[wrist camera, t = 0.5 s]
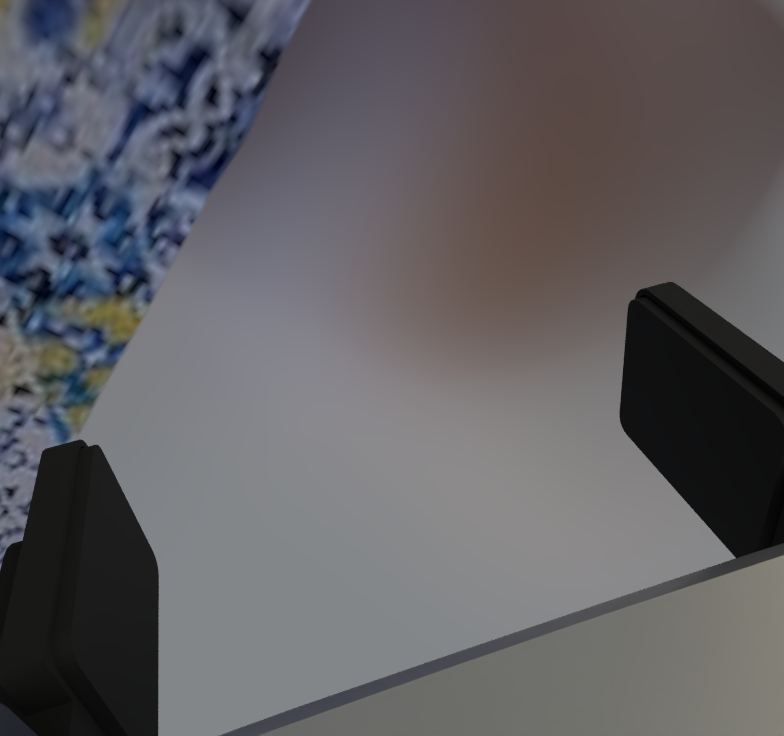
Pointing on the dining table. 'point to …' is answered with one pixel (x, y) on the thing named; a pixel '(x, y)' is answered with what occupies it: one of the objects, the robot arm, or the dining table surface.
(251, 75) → the dining table surface
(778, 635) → the robot arm
